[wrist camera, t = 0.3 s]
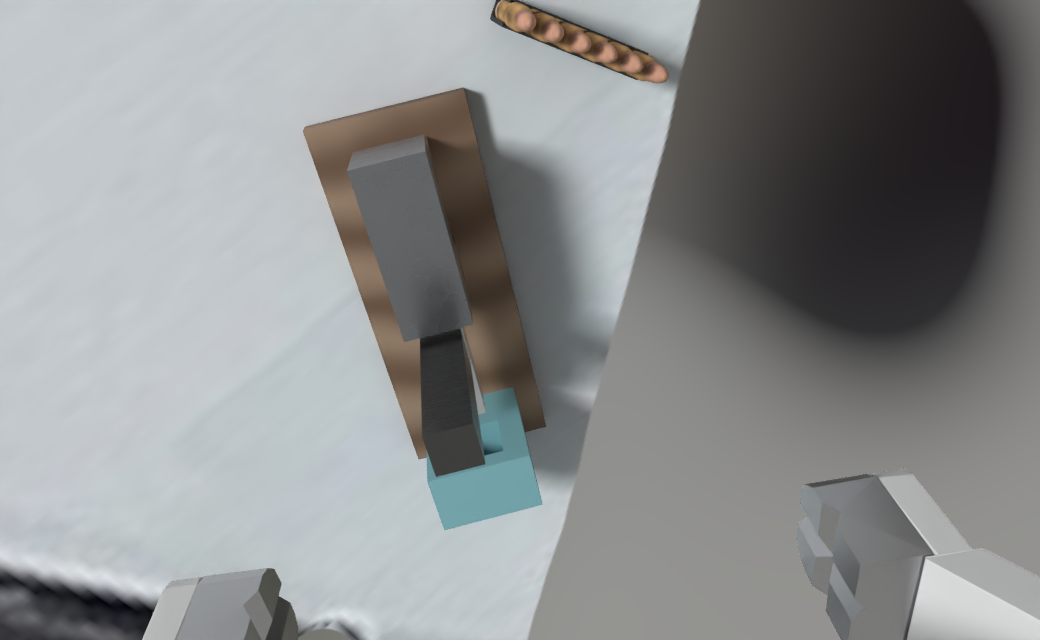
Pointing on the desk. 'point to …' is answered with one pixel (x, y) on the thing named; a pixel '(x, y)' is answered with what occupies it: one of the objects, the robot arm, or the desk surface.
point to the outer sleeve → (411, 237)
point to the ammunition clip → (577, 40)
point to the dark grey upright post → (450, 402)
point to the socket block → (490, 470)
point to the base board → (472, 232)
